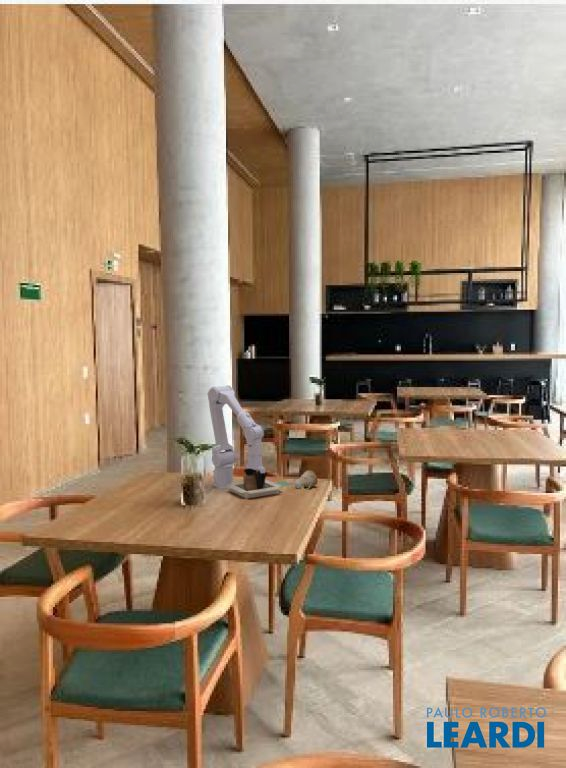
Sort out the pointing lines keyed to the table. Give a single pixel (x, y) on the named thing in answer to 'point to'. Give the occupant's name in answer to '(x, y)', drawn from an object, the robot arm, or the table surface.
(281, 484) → the mat
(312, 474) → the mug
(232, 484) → the off-white shallow square tray
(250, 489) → the box
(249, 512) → the table surface
